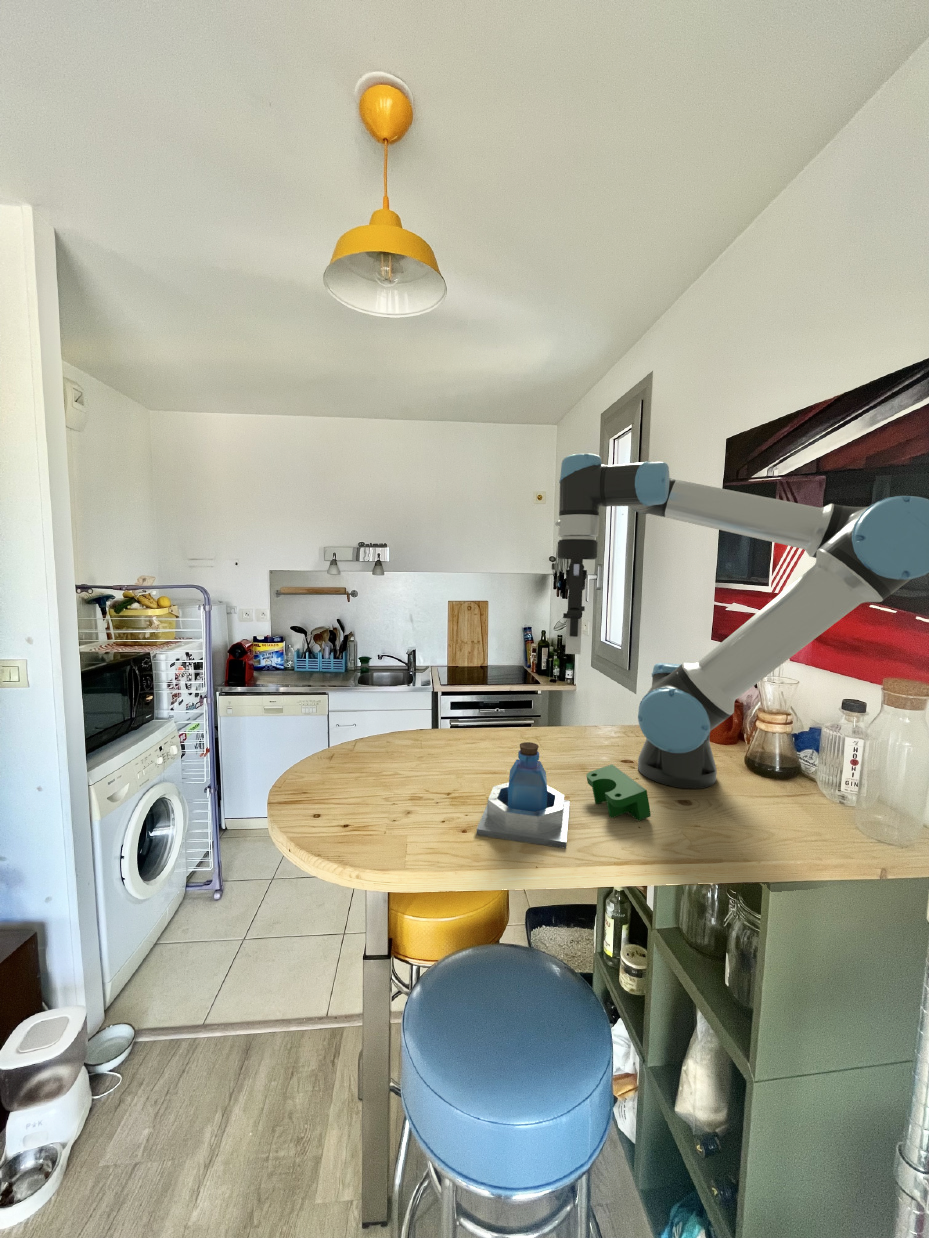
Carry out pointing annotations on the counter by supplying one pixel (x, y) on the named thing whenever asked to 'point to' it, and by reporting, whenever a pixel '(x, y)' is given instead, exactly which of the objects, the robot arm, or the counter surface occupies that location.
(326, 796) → the counter surface
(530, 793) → the perfume bottle
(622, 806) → the clamp
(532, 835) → the flange
